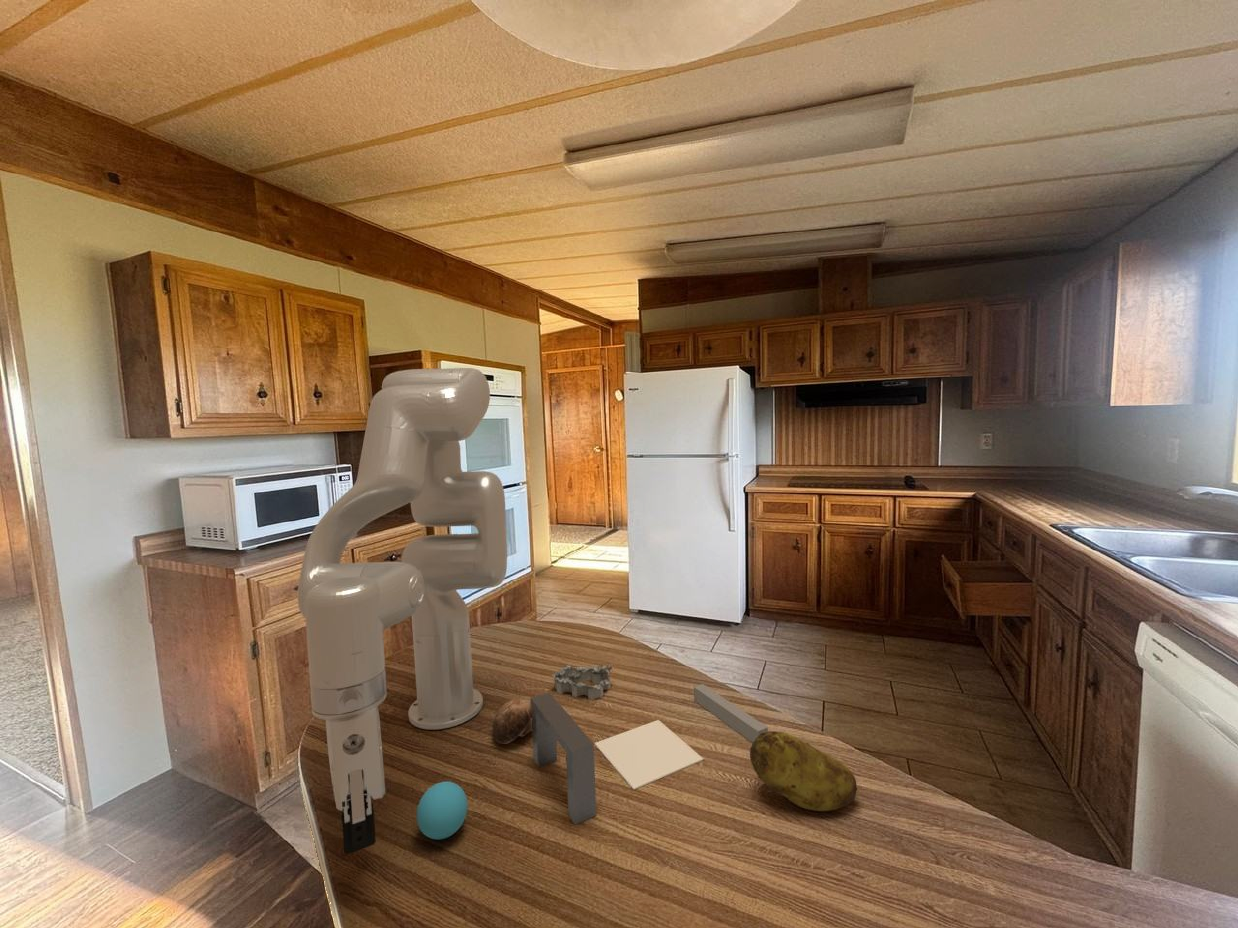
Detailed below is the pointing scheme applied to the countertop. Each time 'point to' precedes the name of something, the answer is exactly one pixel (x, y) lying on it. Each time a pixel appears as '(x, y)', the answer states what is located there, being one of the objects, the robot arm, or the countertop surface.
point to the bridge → (579, 749)
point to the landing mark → (647, 753)
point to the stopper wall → (729, 713)
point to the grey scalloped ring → (572, 678)
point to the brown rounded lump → (512, 720)
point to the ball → (442, 810)
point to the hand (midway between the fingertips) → (359, 844)
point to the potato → (802, 772)
